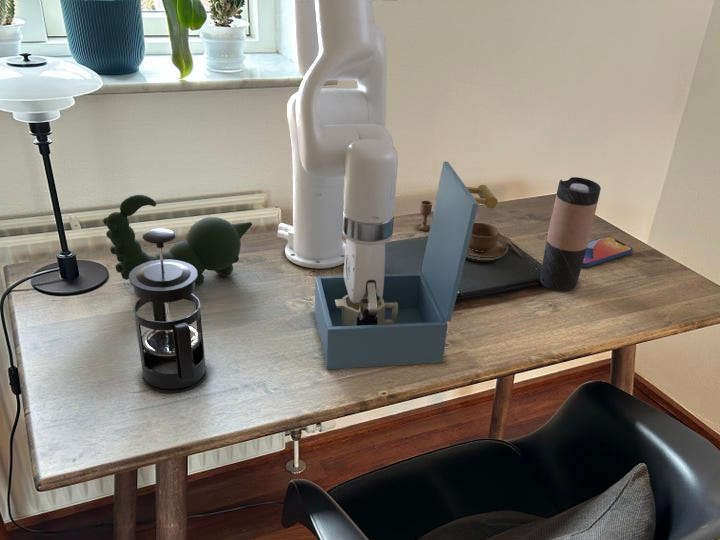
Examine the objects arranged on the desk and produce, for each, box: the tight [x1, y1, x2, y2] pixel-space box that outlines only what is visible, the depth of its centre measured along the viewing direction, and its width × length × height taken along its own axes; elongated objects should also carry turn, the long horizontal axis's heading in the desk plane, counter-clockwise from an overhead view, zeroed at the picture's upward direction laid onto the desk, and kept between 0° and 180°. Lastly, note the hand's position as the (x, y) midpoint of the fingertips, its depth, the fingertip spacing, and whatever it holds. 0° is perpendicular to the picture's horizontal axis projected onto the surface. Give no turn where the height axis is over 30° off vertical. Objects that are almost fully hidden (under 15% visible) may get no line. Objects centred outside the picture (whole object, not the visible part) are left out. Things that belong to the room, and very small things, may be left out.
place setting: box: [417, 200, 523, 263], centre depth 154 cm, size 18×20×6 cm
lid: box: [421, 160, 499, 323], centre depth 116 cm, size 19×17×6 cm
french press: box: [128, 228, 208, 394], centre depth 103 cm, size 12×9×23 cm
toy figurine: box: [102, 194, 253, 287], centre depth 128 cm, size 9×19×25 cm
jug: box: [335, 295, 398, 326], centre depth 120 cm, size 10×7×6 cm, turn 102°
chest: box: [314, 272, 449, 370], centre depth 121 cm, size 19×17×7 cm
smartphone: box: [582, 236, 633, 268], centre depth 155 cm, size 7×15×1 cm, turn 124°
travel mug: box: [539, 176, 602, 292], centre depth 138 cm, size 8×8×20 cm
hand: (362, 325), depth 121 cm, fingers closed on jug, 6 cm apart
